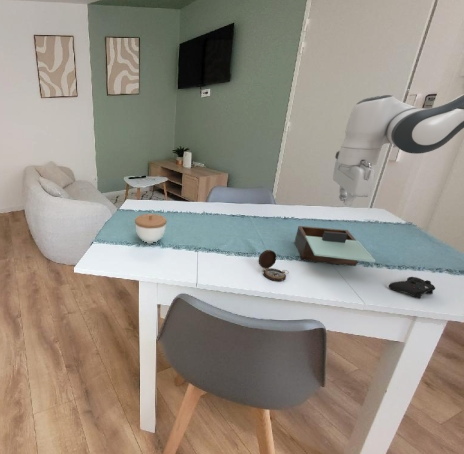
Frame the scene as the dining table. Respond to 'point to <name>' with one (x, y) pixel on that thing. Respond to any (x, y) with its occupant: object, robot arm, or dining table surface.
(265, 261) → the compass
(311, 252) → the case
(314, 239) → the case lid
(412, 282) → the gaming controller
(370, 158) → the robot arm
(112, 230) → the dining table surface
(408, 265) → the dining table surface
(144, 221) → the lidded bowl
